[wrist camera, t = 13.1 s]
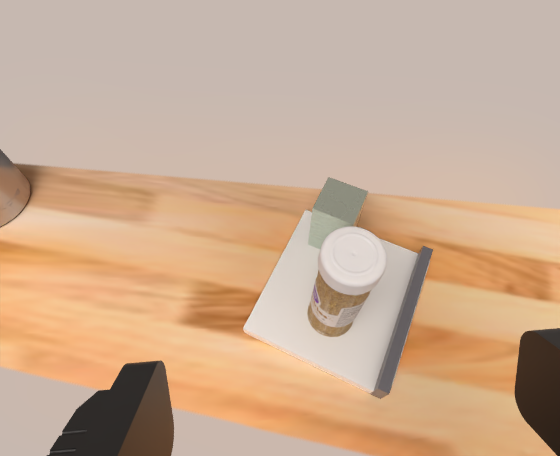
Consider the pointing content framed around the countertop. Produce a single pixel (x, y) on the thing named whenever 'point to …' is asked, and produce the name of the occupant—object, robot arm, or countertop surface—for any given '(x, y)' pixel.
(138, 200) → the countertop surface
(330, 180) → the tea tin
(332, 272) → the spice jar
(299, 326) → the tray
